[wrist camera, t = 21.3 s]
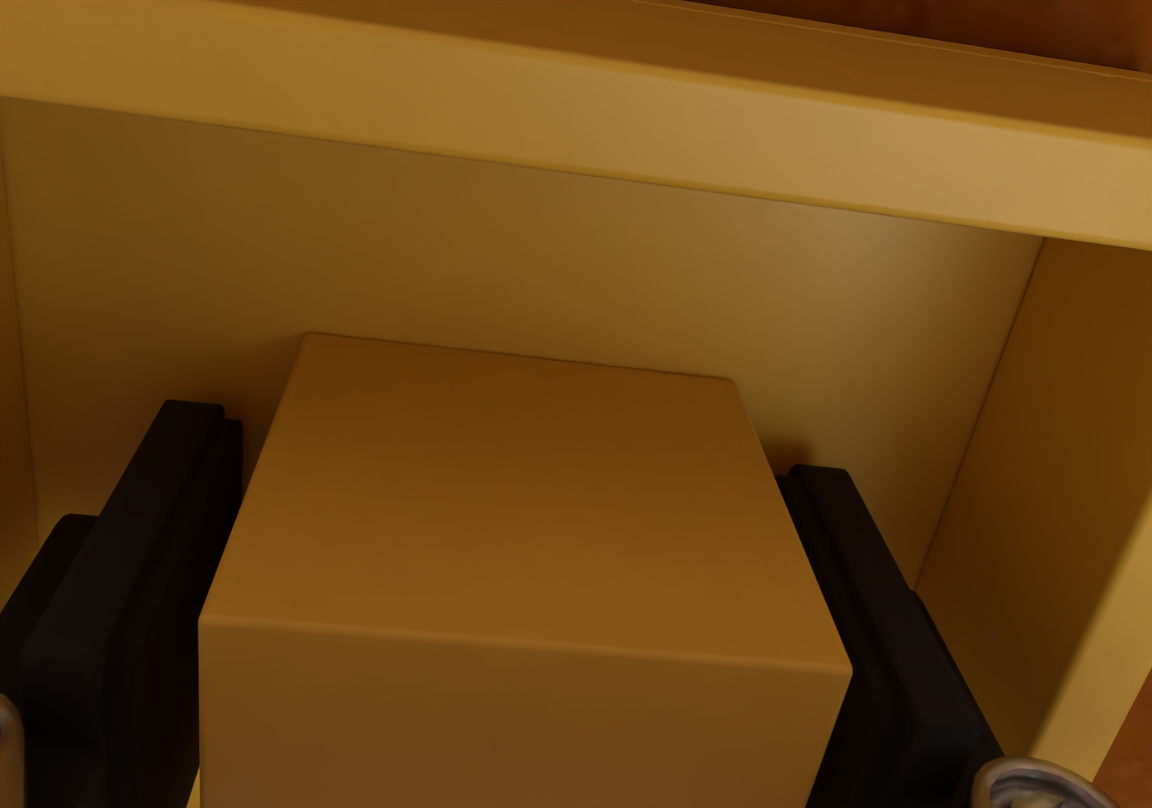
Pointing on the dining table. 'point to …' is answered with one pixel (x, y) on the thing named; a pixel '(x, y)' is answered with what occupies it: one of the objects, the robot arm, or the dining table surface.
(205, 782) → the mustard block
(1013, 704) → the mustard bin
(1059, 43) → the dining table surface
